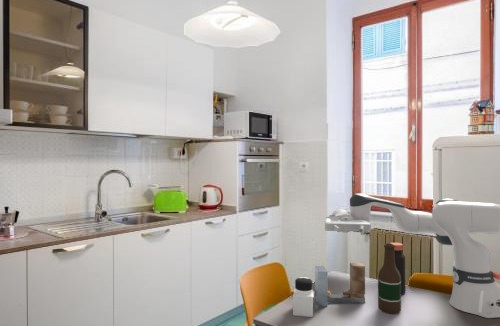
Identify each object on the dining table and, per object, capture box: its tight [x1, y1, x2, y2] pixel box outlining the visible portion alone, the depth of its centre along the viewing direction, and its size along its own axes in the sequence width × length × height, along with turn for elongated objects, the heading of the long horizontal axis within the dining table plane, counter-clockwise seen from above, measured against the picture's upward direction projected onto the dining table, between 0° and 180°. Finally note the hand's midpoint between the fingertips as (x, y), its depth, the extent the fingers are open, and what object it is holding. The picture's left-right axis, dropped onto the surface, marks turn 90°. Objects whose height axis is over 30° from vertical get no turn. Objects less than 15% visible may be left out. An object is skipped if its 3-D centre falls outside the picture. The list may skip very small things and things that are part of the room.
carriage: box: [341, 262, 366, 298], centre depth 131 cm, size 8×4×12 cm, turn 89°
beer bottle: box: [377, 242, 402, 315], centre depth 123 cm, size 8×8×24 cm
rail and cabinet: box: [314, 265, 366, 308], centre depth 129 cm, size 18×7×13 cm, turn 89°
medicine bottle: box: [292, 276, 315, 318], centre depth 121 cm, size 7×7×12 cm
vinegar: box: [389, 242, 406, 296], centre depth 140 cm, size 7×7×20 cm
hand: (350, 230), depth 146 cm, fingers open, 8 cm apart
